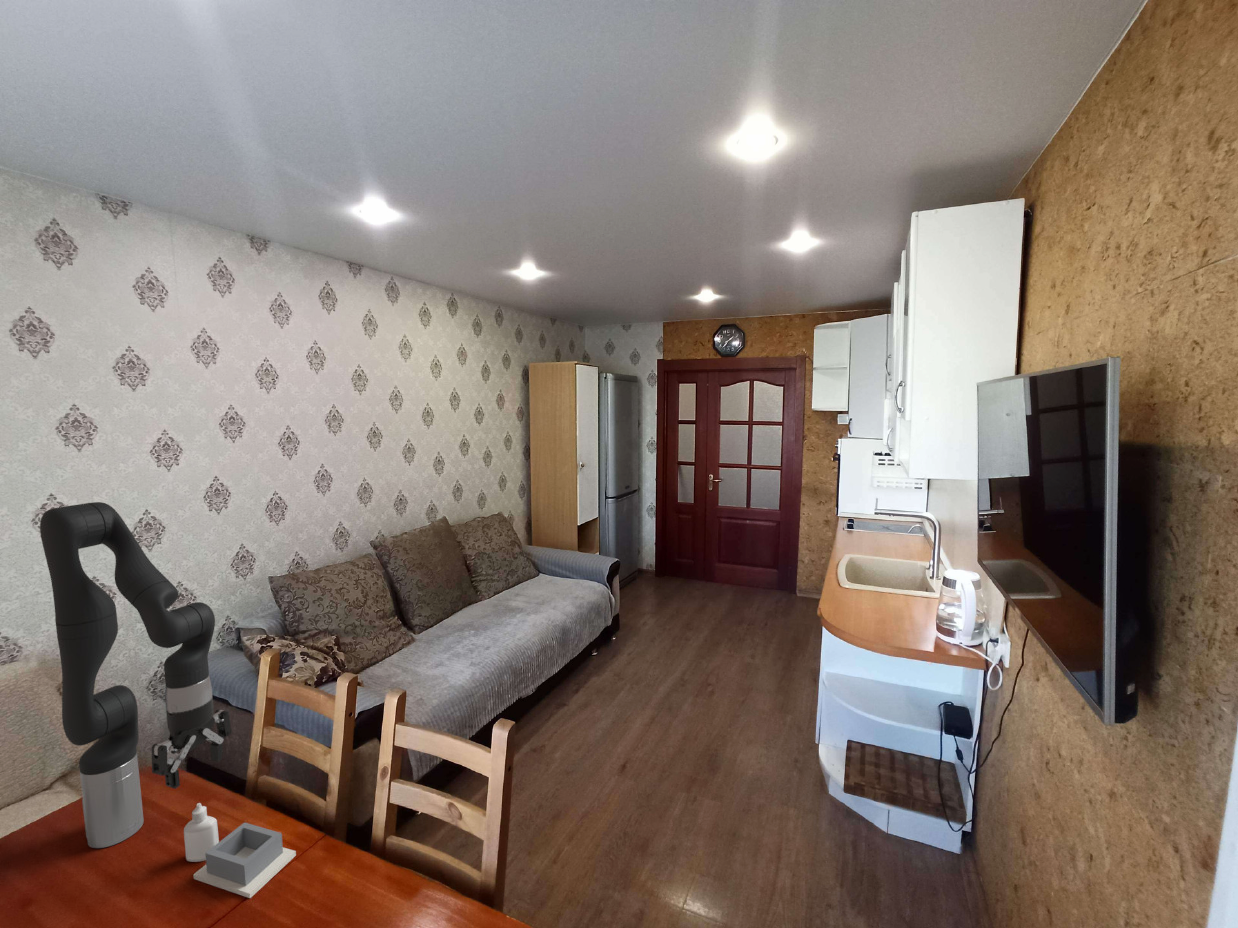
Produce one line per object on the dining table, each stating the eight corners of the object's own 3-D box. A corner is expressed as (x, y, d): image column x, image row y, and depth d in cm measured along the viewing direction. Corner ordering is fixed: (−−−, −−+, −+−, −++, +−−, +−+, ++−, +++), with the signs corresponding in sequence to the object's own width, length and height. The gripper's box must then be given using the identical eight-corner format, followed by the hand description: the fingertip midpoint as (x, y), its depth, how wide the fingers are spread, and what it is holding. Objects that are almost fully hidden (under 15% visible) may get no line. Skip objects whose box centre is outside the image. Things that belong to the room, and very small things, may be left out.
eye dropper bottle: (201, 867, 112) (197, 814, 110) (183, 859, 113) (178, 807, 112) (222, 850, 116) (218, 799, 114) (204, 843, 117) (200, 793, 116)
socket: (193, 878, 109) (191, 854, 108) (242, 838, 119) (241, 816, 118) (250, 898, 105) (248, 872, 104) (295, 855, 115) (294, 831, 114)
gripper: (210, 680, 118) (216, 748, 120) (137, 716, 105) (145, 792, 107) (236, 686, 116) (241, 755, 118) (165, 723, 103) (172, 800, 105)
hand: (195, 772), depth 112 cm, fingers open, 8 cm apart
